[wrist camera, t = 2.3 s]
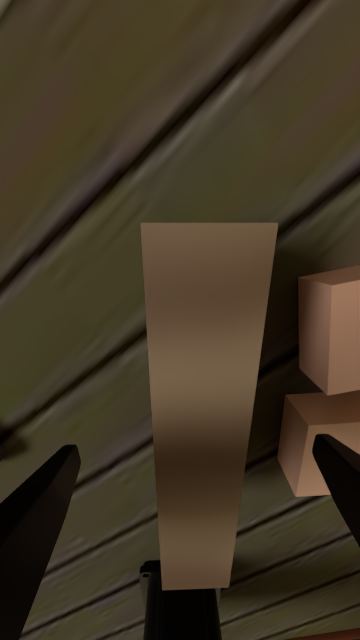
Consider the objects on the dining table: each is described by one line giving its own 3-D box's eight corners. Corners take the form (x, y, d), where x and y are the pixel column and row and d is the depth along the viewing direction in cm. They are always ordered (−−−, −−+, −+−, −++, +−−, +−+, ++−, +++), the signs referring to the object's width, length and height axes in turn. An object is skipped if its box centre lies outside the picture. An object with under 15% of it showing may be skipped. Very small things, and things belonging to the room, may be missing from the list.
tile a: (350, 449, 14) (386, 490, 12) (274, 454, 14) (295, 496, 11) (368, 385, 12) (414, 418, 10) (282, 391, 12) (308, 425, 10)
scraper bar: (210, 474, 14) (229, 587, 9) (166, 475, 14) (162, 590, 9) (225, 235, 9) (278, 222, 5) (157, 235, 9) (140, 223, 4)
